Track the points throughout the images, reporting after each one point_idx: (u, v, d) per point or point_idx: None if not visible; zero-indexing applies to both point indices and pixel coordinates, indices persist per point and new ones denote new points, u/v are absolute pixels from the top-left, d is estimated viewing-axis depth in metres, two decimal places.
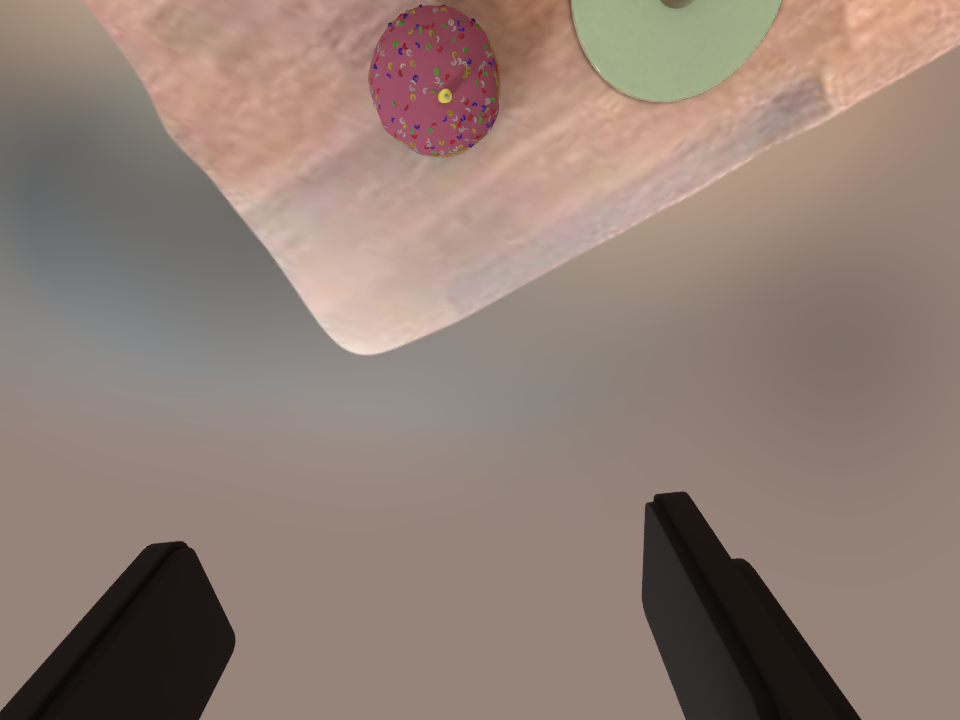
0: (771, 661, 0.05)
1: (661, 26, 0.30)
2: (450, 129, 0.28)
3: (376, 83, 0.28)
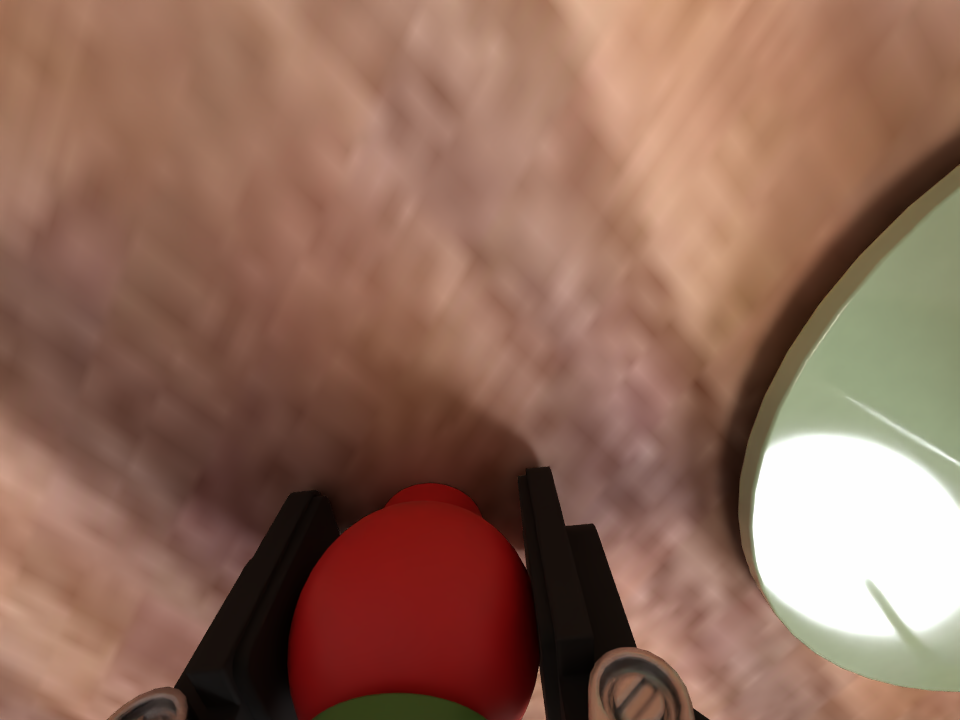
0: (560, 594, 0.07)
1: None
2: None
3: None
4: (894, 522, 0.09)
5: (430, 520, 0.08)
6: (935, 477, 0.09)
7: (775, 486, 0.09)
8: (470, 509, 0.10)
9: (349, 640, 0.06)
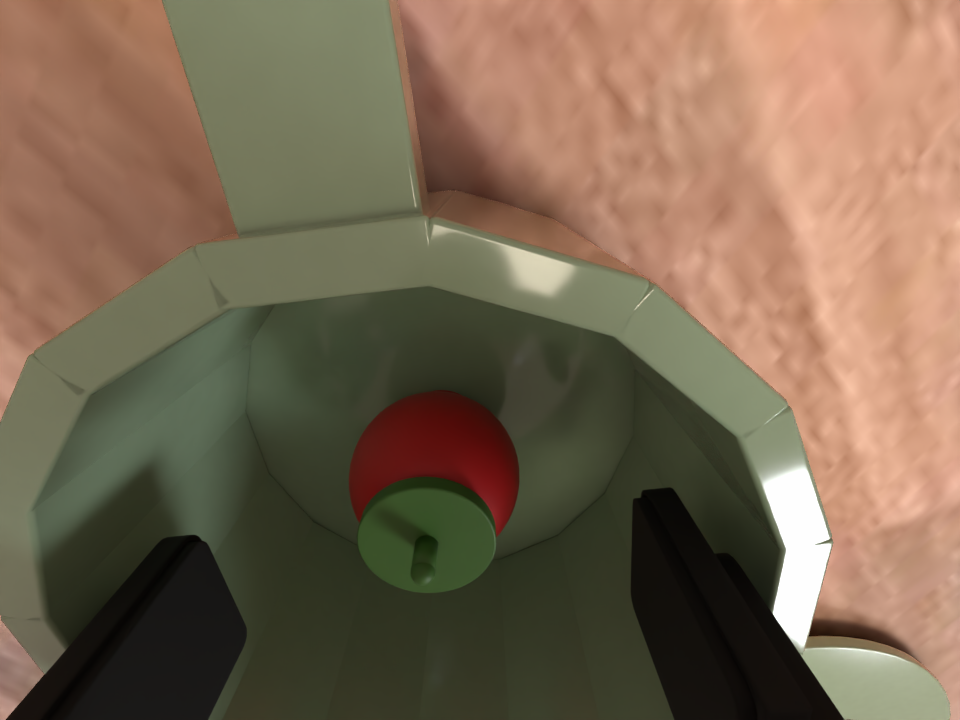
0: (748, 650, 0.06)
1: None
2: None
3: None
4: None
5: (443, 396, 0.11)
6: None
7: None
8: None
9: (394, 454, 0.10)
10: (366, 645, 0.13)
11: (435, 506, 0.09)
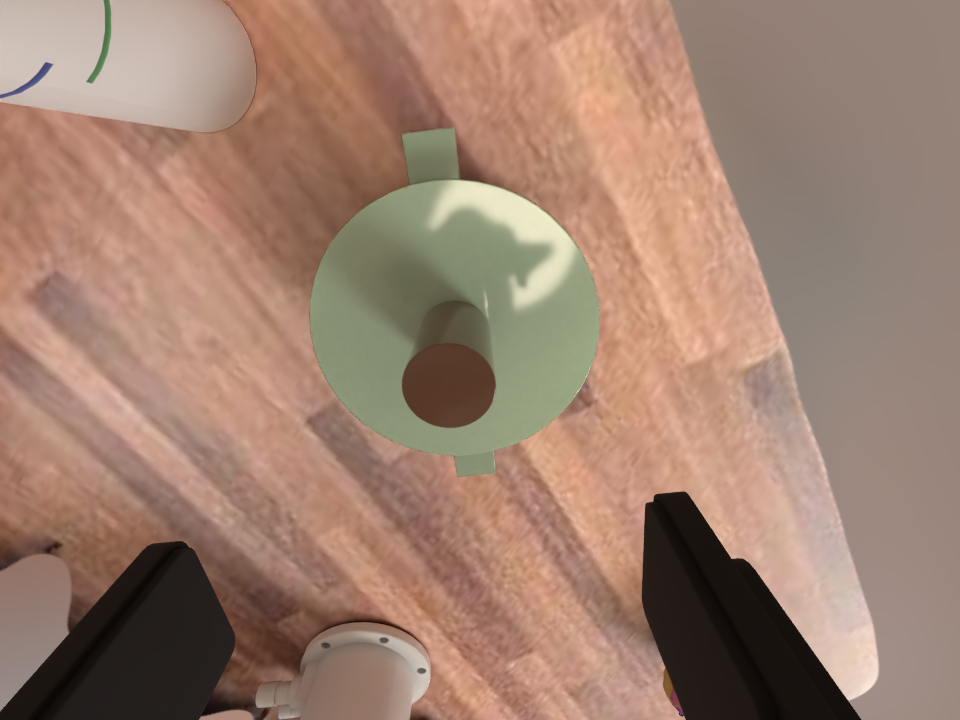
0: (771, 661, 0.05)
1: (510, 350, 0.23)
2: None
3: None
4: (376, 364, 0.23)
5: None
6: (382, 344, 0.22)
7: (321, 348, 0.23)
8: None
9: None
10: None
11: None
